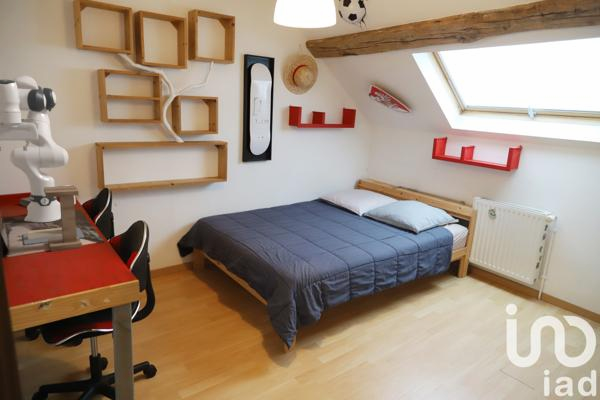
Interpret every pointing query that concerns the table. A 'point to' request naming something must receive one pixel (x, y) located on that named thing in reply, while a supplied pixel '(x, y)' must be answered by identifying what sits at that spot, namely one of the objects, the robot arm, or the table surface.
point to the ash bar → (45, 233)
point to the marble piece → (25, 201)
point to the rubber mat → (46, 238)
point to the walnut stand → (65, 218)
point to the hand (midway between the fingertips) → (12, 150)
